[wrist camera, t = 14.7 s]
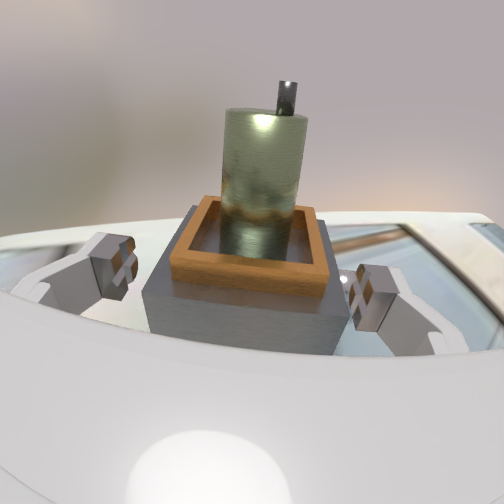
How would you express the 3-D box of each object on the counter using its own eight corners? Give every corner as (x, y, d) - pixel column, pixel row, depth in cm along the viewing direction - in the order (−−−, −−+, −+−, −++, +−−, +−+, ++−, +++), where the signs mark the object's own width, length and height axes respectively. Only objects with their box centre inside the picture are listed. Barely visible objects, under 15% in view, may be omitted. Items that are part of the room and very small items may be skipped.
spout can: (213, 263, 22) (221, 75, 14) (225, 228, 26) (234, 78, 19) (287, 272, 21) (317, 85, 14) (286, 235, 26) (308, 85, 19)
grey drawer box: (154, 345, 21) (136, 268, 17) (193, 252, 33) (192, 187, 29) (359, 368, 21) (399, 297, 17) (337, 268, 33) (354, 207, 28)
